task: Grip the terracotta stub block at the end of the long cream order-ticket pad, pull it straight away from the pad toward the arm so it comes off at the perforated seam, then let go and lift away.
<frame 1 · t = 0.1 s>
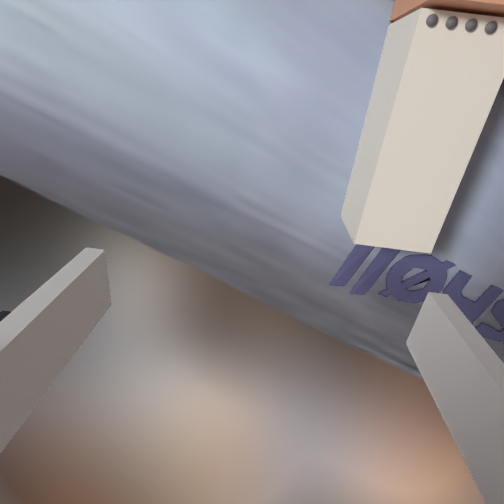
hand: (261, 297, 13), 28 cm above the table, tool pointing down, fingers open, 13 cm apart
ticket pad: (397, 137, 36), on the table
signage: (435, 292, 46), on the table
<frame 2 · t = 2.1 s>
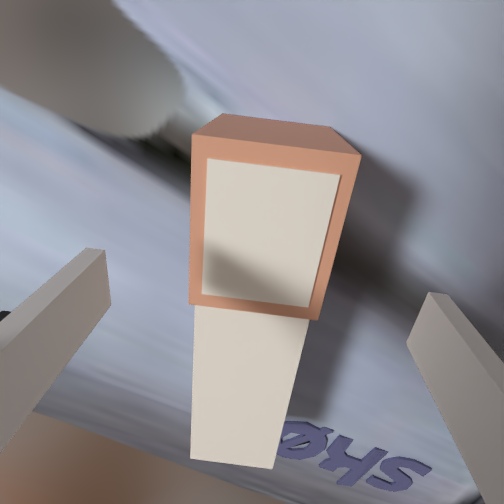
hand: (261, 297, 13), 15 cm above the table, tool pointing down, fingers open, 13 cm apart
ticket pad: (248, 328, 34), on the table
signage: (320, 449, 43), on the table
stub: (265, 207, 22), point 5 cm above the table, slide at 0.0 cm
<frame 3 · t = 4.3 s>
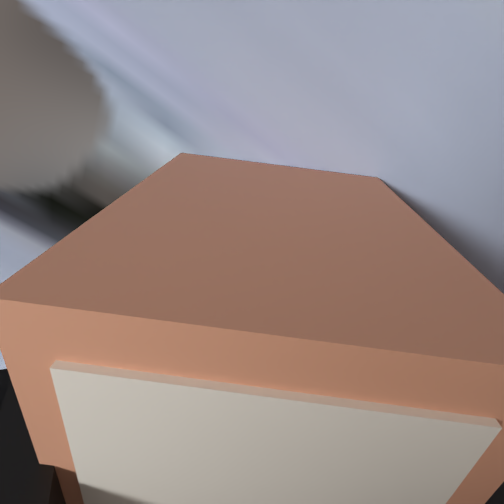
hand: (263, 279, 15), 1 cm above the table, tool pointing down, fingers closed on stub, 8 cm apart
stub: (258, 347, 11), point 5 cm above the table, slide at 0.0 cm, touching gripper
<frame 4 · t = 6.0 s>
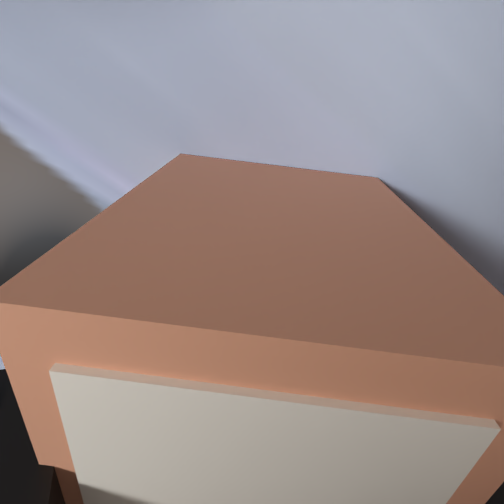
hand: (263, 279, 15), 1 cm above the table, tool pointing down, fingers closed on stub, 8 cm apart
stub: (258, 348, 11), point 5 cm above the table, slide at 5.7 cm, touching gripper
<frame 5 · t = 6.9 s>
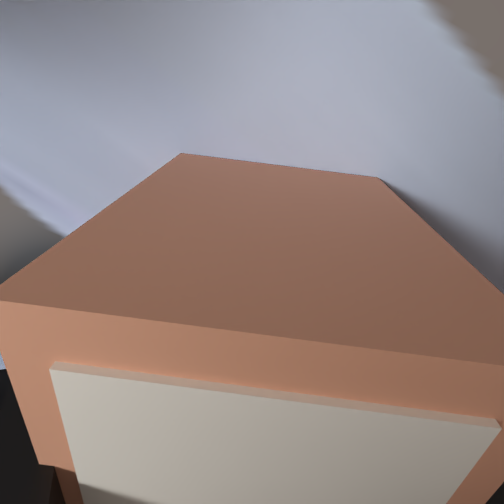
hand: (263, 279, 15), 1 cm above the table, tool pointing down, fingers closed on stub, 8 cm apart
stub: (258, 348, 11), point 5 cm above the table, slide at 8.9 cm, touching gripper
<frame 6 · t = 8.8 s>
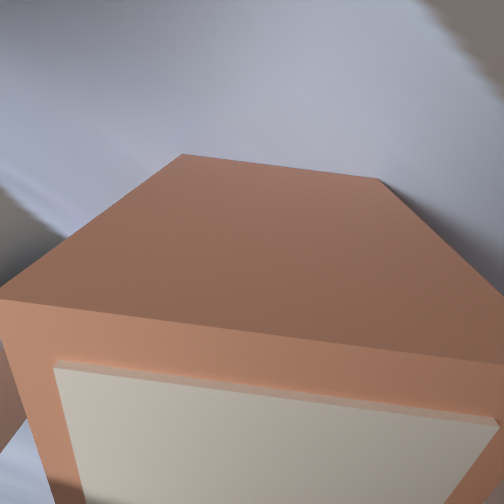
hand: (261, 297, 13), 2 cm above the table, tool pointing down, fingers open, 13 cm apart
stub: (258, 348, 11), point 5 cm above the table, slide at 9.0 cm
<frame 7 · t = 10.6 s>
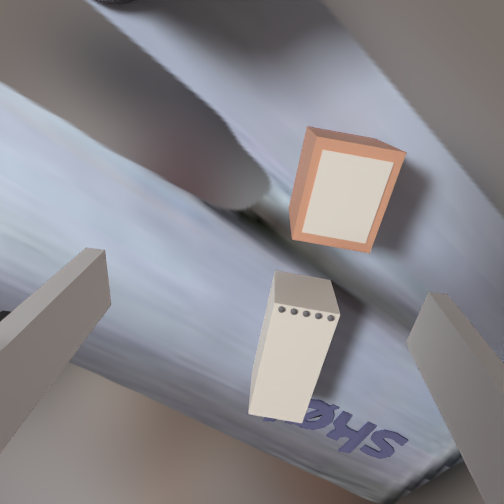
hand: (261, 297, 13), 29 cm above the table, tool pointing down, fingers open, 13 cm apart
ticket pad: (287, 330, 50), on the table
signage: (328, 422, 60), on the table
stub: (336, 185, 35), point 5 cm above the table, slide at 9.0 cm
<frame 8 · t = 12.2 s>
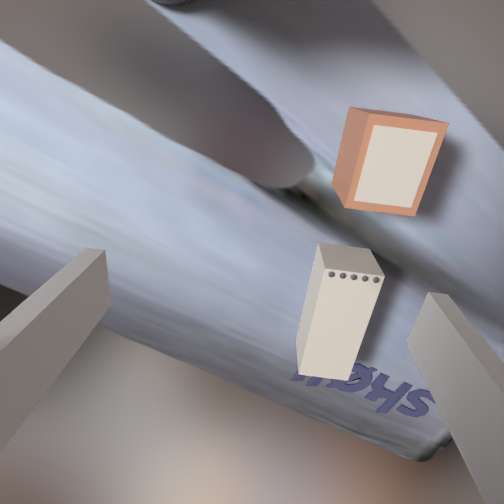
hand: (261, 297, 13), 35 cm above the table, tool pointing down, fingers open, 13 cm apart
ticket pad: (329, 298, 55), on the table
signage: (366, 385, 64), on the table
stub: (380, 158, 39), point 5 cm above the table, slide at 9.0 cm
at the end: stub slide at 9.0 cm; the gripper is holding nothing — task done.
